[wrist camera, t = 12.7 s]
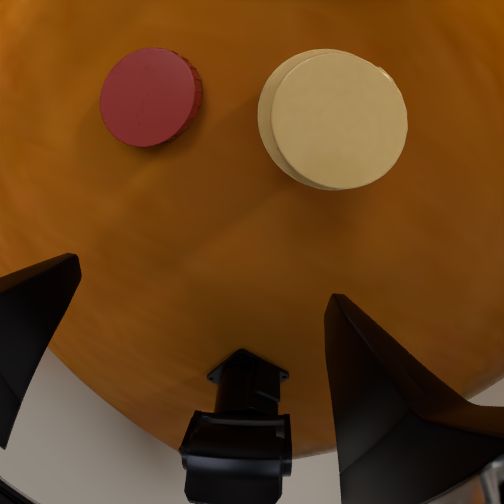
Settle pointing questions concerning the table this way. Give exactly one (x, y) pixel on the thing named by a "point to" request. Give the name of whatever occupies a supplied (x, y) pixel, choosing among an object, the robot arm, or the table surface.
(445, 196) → the table surface
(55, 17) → the table surface
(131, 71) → the lid
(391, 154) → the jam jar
